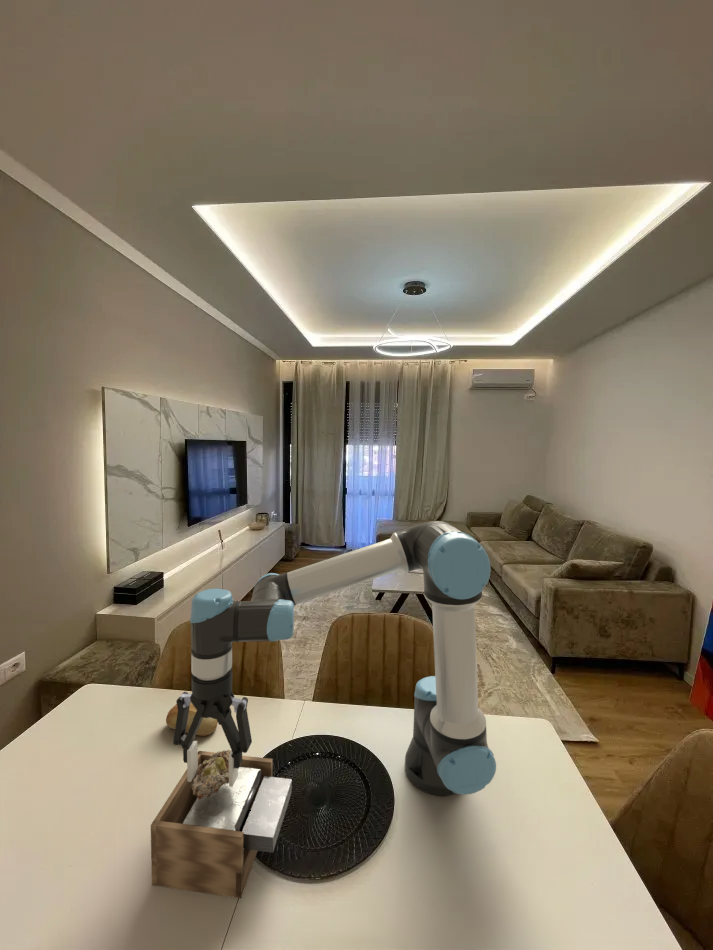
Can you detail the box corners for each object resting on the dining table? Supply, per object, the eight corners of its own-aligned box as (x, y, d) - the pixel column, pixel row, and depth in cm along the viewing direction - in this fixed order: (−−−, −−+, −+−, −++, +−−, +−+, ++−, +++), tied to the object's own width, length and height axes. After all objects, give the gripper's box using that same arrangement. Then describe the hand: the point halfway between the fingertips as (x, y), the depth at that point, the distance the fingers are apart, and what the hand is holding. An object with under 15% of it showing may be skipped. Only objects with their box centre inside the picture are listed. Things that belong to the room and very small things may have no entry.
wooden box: (272, 809, 92) (272, 758, 91) (241, 898, 74) (241, 837, 73) (199, 800, 94) (198, 750, 93) (151, 885, 76) (150, 825, 75)
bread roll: (178, 713, 123) (178, 687, 122) (225, 720, 120) (225, 694, 120) (157, 735, 113) (157, 708, 113) (208, 744, 111) (208, 716, 110)
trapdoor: (182, 843, 77) (182, 823, 76) (216, 781, 91) (216, 763, 90) (272, 855, 75) (272, 834, 75) (292, 790, 89) (292, 772, 89)
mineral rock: (209, 744, 89) (240, 742, 87) (214, 762, 89) (246, 761, 87) (175, 785, 79) (210, 785, 77) (181, 806, 79) (216, 807, 77)
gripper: (269, 664, 83) (269, 769, 86) (172, 655, 86) (174, 758, 88) (256, 686, 76) (256, 800, 78) (150, 676, 78) (153, 788, 80)
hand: (213, 778), depth 83 cm, fingers closed on mineral rock, 8 cm apart
